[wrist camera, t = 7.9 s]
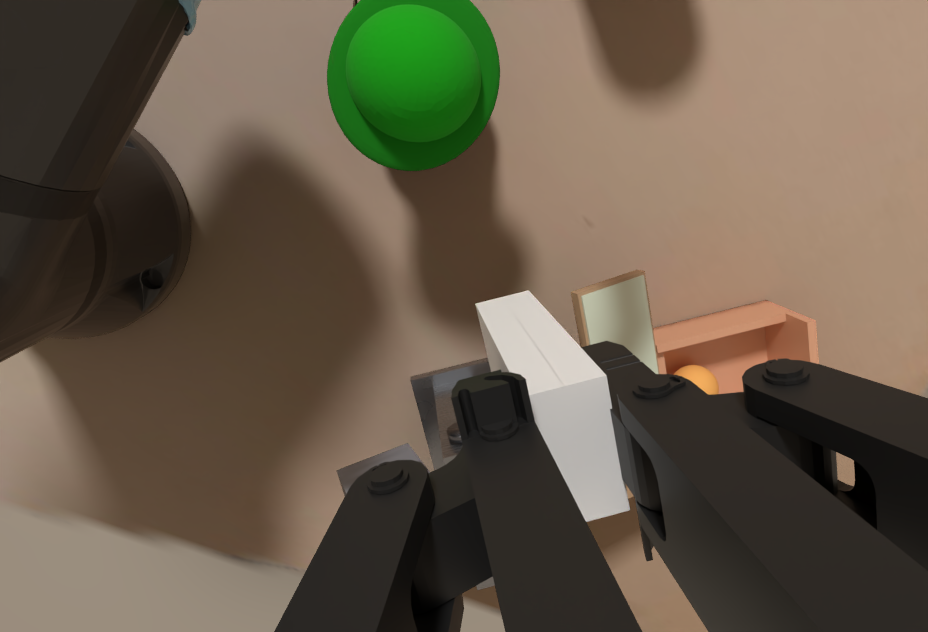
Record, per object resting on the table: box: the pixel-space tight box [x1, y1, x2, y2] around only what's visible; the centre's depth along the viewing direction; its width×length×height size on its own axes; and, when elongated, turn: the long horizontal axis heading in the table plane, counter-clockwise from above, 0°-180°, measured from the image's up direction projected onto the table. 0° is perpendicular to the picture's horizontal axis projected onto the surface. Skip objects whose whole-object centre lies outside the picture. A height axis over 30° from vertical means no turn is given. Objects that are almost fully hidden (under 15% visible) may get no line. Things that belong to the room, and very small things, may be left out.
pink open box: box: [653, 300, 819, 394], centre depth 46 cm, size 10×9×6 cm
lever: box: [337, 270, 660, 499], centre depth 40 cm, size 22×14×8 cm, turn 103°
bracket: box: [411, 358, 495, 590], centre depth 43 cm, size 6×11×12 cm, turn 13°
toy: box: [327, 0, 500, 171], centre depth 35 cm, size 9×9×15 cm
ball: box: [674, 365, 719, 395], centre depth 47 cm, size 4×4×4 cm
